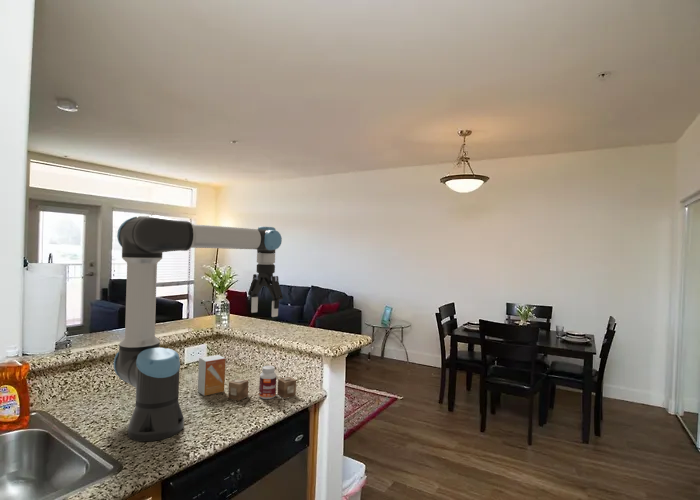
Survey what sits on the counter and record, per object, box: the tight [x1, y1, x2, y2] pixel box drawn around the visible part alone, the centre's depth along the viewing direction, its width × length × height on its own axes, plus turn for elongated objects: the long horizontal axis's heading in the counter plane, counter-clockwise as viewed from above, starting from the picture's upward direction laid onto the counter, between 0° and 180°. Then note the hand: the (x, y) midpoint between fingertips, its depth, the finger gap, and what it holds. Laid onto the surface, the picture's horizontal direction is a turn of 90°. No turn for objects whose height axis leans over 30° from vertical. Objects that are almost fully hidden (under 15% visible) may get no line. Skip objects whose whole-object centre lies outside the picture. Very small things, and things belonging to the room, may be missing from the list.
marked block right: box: [277, 376, 297, 399], centre depth 150 cm, size 5×5×6 cm
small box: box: [197, 354, 226, 397], centre depth 151 cm, size 8×6×13 cm
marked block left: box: [227, 377, 249, 402], centre depth 146 cm, size 5×5×6 cm
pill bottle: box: [258, 365, 277, 400], centre depth 148 cm, size 6×6×11 cm
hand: (264, 314), depth 164 cm, fingers open, 13 cm apart
